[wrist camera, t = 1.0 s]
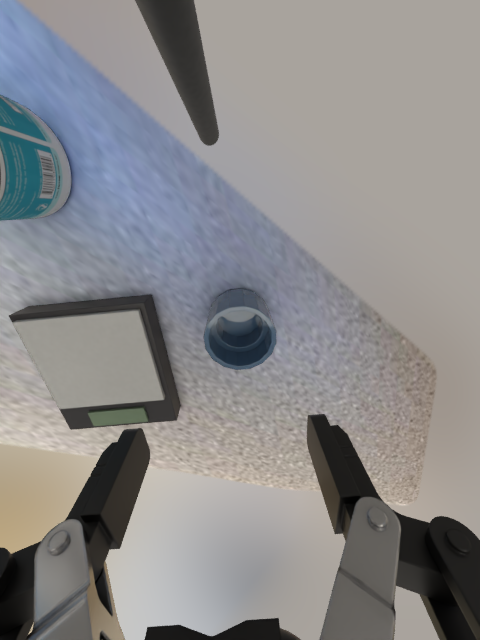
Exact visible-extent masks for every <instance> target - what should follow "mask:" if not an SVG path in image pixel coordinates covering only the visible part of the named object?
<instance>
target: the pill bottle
mask: <svg viewBox="0 0 480 640" xmlns="http://www.w3.org/2000/svg"><path fill="white" fill-rule="evenodd" d="M70 189H71V171H70V165H69V162H68V159H67V156H66V153H65V151H64V149H63V147H62V145H61V143H60V142H59V140H58V139H57V137H56V136H55V134H54V133H53V132H52V130H51V129H50V128H49V127H48V126H47V125H46V124H45V123H44V122H43V121H42V120H41V119H40V118H39V117H38V116H37V115H35V114H34V113H33V112H31V111H30V110H28V109H27V108H25V107H24V106H22V105H20V104H18V103H16V102H14V101H12V100H10V99H8V98H6V97H4V96H2V95H0V220H16V219H31V218H41V217H46V216H49V215H51V214H53V213H55V212H57V211H58V210H59V209H60V208H61V207H62V206H63V205H64V204H65V202H66V200H67V199H68V196H69V193H70Z"/></svg>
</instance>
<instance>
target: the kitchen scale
mask: <svg viewBox="0 0 480 640" xmlns="http://www.w3.org/2000/svg"><path fill="white" fill-rule="evenodd" d="M9 317H10V319H11V321H12V322H13V325H14V327H15V329H16V331H17V332H18V334H19V336H20V338H21V340H22V342H23V343H24V345H25V347H26V349H27V351H28V353H29V354H30V356H31V358H32V360H33V362H34V364H35V365H36V367H37V369H38V371H39V373H40V375H41V377H42V378H43V380H44V382H45V384H46V386H47V388H48V389H49V391H50V393H51V395H52V397H53V399H54V400H55V402H56V404H57V406H58V408H59V409H60V411H61V413H62V415H63V416H64V418H65V420H66V422H67V424H68V426H69V427H70V429H71V430H72V429H83V428H94V427H106V426H117V425H129V424H140V423H152V422H163V421H174V420H177V417H178V414H179V410H180V406H181V405H180V402H179V398H178V394H177V390H176V386H175V382H174V378H173V375H172V371H171V367H170V363H169V359H168V355H167V351H166V348H165V344H164V340H163V336H162V332H161V328H160V324H159V321H158V317H157V313H156V309H155V305H154V301H153V297H152V295H143V296H132V297H122V298H112V299H101V300H91V301H81V302H70V303H60V304H50V305H39V306H29V307H26V308H24V309H22V310H20V311H18V312H15V313H13V314H11V315H9Z"/></svg>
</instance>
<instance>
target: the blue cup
mask: <svg viewBox="0 0 480 640" xmlns="http://www.w3.org/2000/svg"><path fill="white" fill-rule="evenodd" d="M204 343H205V348H206V350H207V352H208V353H209V355H210V356H211V358H212V359H213V360H214V361H216V362H217V363H219V364H220V365H222V366H223V367H227V368H231V369H235V370H241V369H250V368H253V367H255V366H257V365H259V364H262V363H263V362H264V361H265V360H266V359H267V358H268V357H269V356H270V355H271V354H272V352H273V349H274V347H275V345H276V329H275V326H274V323H273V320H272V318H271V315H270V312H269V309H268V307H267V305H266V303H265V301H264V300H263V299H262V298H261V297H260V296H258V295H257V294H256V293H254V292H252V291H249V290H245V289H234V290H229V291H227V292H225V293H223V294H221V295H219V296H218V298H217V299H216V300H215V301H214V302H213V304H212V305H211V308H210V312H209V316H208V320H207V324H206V328H205V333H204Z"/></svg>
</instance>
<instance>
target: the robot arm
mask: <svg viewBox="0 0 480 640" xmlns="http://www.w3.org/2000/svg"><path fill="white" fill-rule="evenodd" d="M307 444H308V449H309V453H310V456H311V459H312V462H313V465H314V469H315V472H316V475H317V478H318V481H319V485H320V488H321V491H322V494H323V497H324V500H325V504H326V507H327V510H328V513H329V517H330V520H331V523H332V526H333V529H334V532H335V534H341V533H343V535H344V538H345V540H346V543H345V547H344V550H343V554H342V558H341V562H340V566H339V568H338V571H337V575H336V579H335V582H334V586H333V590H332V594H331V597H330V601H329V605H328V609H327V613H326V617H325V621H324V625H323V628H322V632H321V636H320V640H394V632H395V609H394V599H395V589H396V586H399V587H402V588H405V589H407V590H410V591H413V592H416V593H418V594H420V596H421V598H422V601H423V603H424V605H425V607H426V610H427V612H428V614H429V617H430V619H431V621H432V623H433V625H434V628H435V630H436V632H437V634H438V637H439V639H440V640H480V540H479V539H478V538H477V536H476V535H475V534H474V533H473V532H472V531H470V530H469V529H468V528H467V527H466V526H464V525H463V524H461V523H460V522H458V521H456V520H454V519H451V518H448V517H444V516H439V517H435V518H434V519H432V521H431V522H430V523H428V522H424V521H420V520H417V519H413V518H410V517H406V516H404V515H401V514H399V513H397V512H395V511H394V510H392V509H391V508H390V507H389V506H388V505H387V504H385V503H384V502H383V501H382V499H381V498H380V497H379V495H378V493H377V492H376V490H375V488H374V486H373V484H372V482H371V480H370V478H369V476H368V474H367V472H366V470H365V468H364V466H363V464H362V462H361V460H360V458H359V457H358V454H357V452H356V450H355V449H354V448H353V445H352V443H351V441H350V439H349V437H348V435H347V434H346V433H345V432H344V431H343V430H342V429H341V428H340V427H339V426H338V425H334V426H330V424H329V422H328V420H327V418H326V416H325V415H324V414H318V415H308V422H307ZM149 460H150V449H149V446H148V443H147V441H146V438H145V435H144V432H143V430H142V429H141V428H138V429H126V430H124V431H123V432H122V434H121V436H120V438H119V440H118V442H114V443H111V445H110V446H109V447H108V448H107V449H106V450H105V451H104V452H103V453H102V455H101V457H100V458H99V460H98V462H97V464H96V467H95V468H94V470H93V471H92V473H91V476H90V477H89V479H88V481H87V482H86V484H85V486H84V488H83V489H82V492H81V493H80V495H79V497H78V499H77V500H76V502H75V504H74V506H73V508H72V510H71V511H70V513H69V515H68V517H67V518H66V520H65V521H64V522H61V523H60V524H58V525H57V526H55V527H54V528H53V529H52V530H51V531H50V532H48V533H47V535H46V536H45V537H44V538H43V540H42V541H40V542H38V543H36V544H34V545H31V546H29V547H27V548H24V549H22V550H19V551H17V552H15V553H13V554H10V552H9V551H8V550H7V549H5V548H0V640H125V638H124V635H123V632H122V630H121V627H120V625H119V622H118V618H117V614H116V610H115V605H114V600H113V595H112V590H111V585H110V580H109V575H108V570H107V566H106V562H105V560H106V557H107V554H108V552H109V549H120V547H121V544H122V541H123V538H124V535H125V532H126V529H127V526H128V523H129V520H130V517H131V514H132V511H133V508H134V505H135V502H136V499H137V497H138V493H139V491H140V488H141V484H142V482H143V479H144V476H145V473H146V470H147V467H148V464H149ZM33 622H34V626H33V630H32V632H31V633H30V634H29V635H28V633H29V631H30V629H31V627H32V624H33ZM145 640H300V639H299V638H298V637H296V636H295V635H293V634H292V633H290V632H288V631H286V630H283V629H281V628H280V627H279V619H278V618H275V619H259V620H246V621H244V622H242V623H240V624H238V625H236V626H234V627H232V628H230V629H228V630H226V631H224V632H222V633H220V634H218V635H215V636H207V635H205V634H202V633H199V632H197V631H194V630H191V629H189V628H186V627H183V626H181V625H173V626H157V627H148V628H147V632H146V637H145Z"/></svg>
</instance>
